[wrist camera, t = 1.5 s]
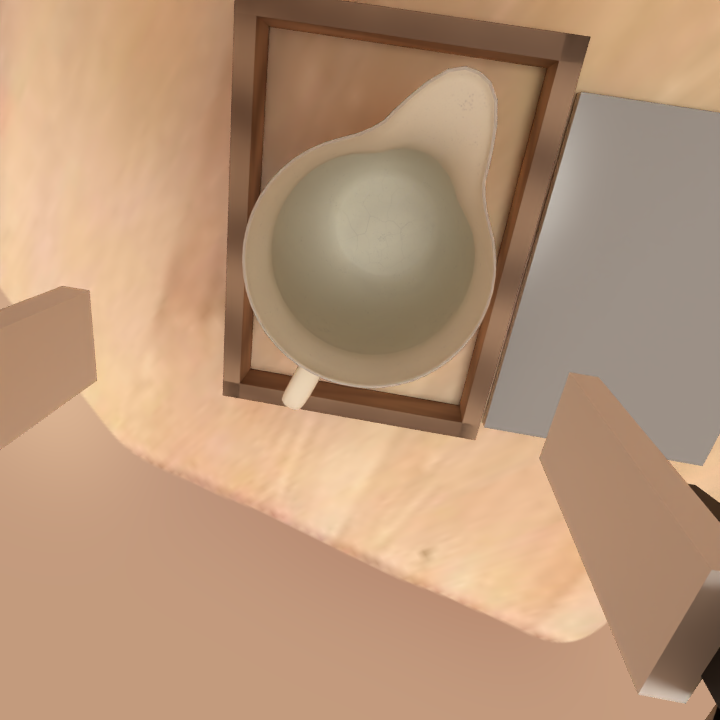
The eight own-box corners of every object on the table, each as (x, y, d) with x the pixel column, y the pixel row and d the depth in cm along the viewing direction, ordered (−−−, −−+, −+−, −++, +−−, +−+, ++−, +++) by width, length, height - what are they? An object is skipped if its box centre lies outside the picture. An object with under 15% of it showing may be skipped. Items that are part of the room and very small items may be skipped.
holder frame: (250, -2, 27) (235, -16, 25) (575, 46, 27) (590, 36, 24) (234, 380, 37) (222, 395, 35) (471, 422, 37) (475, 440, 34)
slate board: (577, 93, 28) (581, 91, 27) (864, 136, 27) (876, 136, 26) (482, 421, 37) (483, 427, 36) (696, 459, 36) (702, 465, 35)
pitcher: (250, 312, 35) (158, 403, 23) (370, 55, 28) (333, -22, 15) (381, 384, 36) (364, 508, 24) (529, 154, 29) (616, 157, 17)
